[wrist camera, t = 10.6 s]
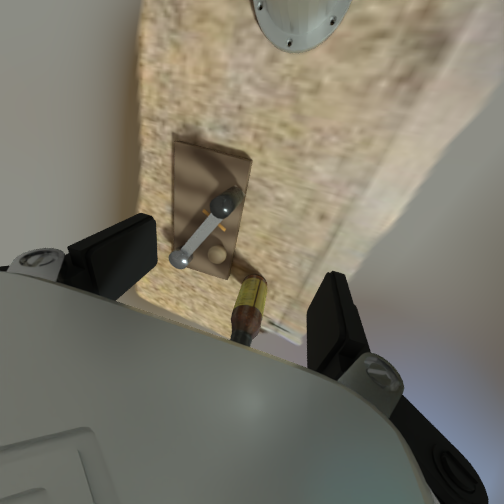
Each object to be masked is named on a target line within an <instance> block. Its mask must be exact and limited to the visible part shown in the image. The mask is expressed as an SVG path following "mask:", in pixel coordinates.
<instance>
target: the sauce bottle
mask: <svg viewBox="0 0 504 504" xmlns="http://www.w3.org/2000/svg"><path fill="white" fill-rule="evenodd" d="M266 295H267V282H266V281H265V280H264V279H263V278H262V277H261V276H259V275H249V276H248V277H246V278H245V279H244V282H243V283H242V286H241V289H240V292H239V295H238V297H237V300H236V303H235V306H234V309H233V312H232V316H231V323H232V335H231V339H230V340H231V341H233V342H236V343H239V344H242V345H245V346H248V347H250V344H251V342H252V339H254V338H255V337H256V336H257V335H258V333H259V330H260V327H261V321H262V317H263V311H264V306H265V300H266Z"/></svg>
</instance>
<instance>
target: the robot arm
mask: <svg viewBox="0 0 504 504" xmlns="http://www.w3.org/2000/svg"><path fill="white" fill-rule="evenodd" d="M351 1H352V0H253V3H254V9H255V13H256V17H257V20H258V22H259V25H260V27H261V29H262V32H263V33H264V35H265V36H266V38H267V39H268V40H269V41H270V42H271V43H272V44H273V45H274V46H275V47H276V48H278V49H280V50H281V51H284V52H288V53H303V52H307V51H309V50H311V49H314V48H316V47H317V46H319V45H320V44H321V43H323V42H324V41H326V39H327V38H328V37H329V36H330V35H331V34H332V33H333V32H334V31H335V30H336V28H337V27H338V25H339V24H340V23H341V21H342V20H343V18H344V16H345V14H346V12H347V10H348V8H349V6H350V3H351ZM260 7H263V9H262V10H259V9H260ZM331 21H333V22H334V25H330V22H331ZM288 43H291V44H292V45H291V46H290V47H289V46H288ZM67 248H68V250H69V253H68V254H66V255H65V254H64V252H63V251H61V250H58V249H54V248H42V249H36V250H32V251H28V252H25V253H23V254H21V255H19V256H18V257H16V258H15V259H14V260H13V262H12V263H11V265H10V266H2V267H0V504H488V496H487V493H486V489H485V487H484V485H483V483H482V481H481V479H480V477H479V475H478V474H477V472H476V471H475V469H474V468H473V467H472V465H471V464H470V463H469V462H468V460H467V459H466V458H465V457H464V456H463V455H462V454H461V453H460V452H459V451H458V450H457V449H456V448H455V447H454V446H453V445H452V444H451V443H450V442H449V441H448V440H447V439H446V438H445V437H444V436H443V435H442V434H441V433H440V432H439V431H438V430H437V429H436V428H435V427H434V426H433V425H432V424H431V423H430V422H429V421H428V420H427V419H426V418H425V417H424V416H423V415H422V414H421V413H420V412H419V411H418V410H417V409H416V408H415V407H414V406H413V405H412V404H411V403H410V402H409V401H408V400H407V399H406V398H405V397H404V396H403V395H402V394H403V391H404V384H403V380H402V378H401V376H400V374H399V373H398V372H397V370H396V369H395V368H394V366H392V364H390V363H389V362H388V361H387V360H385V359H384V358H383V357H381V356H379V355H377V354H374V353H371V352H370V349H369V345H368V342H367V339H366V336H365V333H364V329H363V326H362V323H361V320H360V316H359V314H358V310H357V307H356V306H355V305H354V304H353V300H352V297H351V294H350V290H349V287H348V283H347V280H346V277H345V274H342V273H339V272H335V271H332V272H331V273H329V272H328V273H327V274H326V275H325V277H324V279H323V281H322V283H321V285H320V287H319V289H318V291H317V293H316V295H315V296H314V298H313V300H312V302H311V304H310V306H309V308H308V310H307V368H306V367H303V366H300V365H298V364H295V363H292V362H289V361H287V360H284V359H281V358H279V357H276V356H273V355H270V354H268V353H265V352H262V351H259V350H256V349H253V348H251V347H248V346H245V345H242V344H239V343H236V342H233V341H231V340H228V339H225V338H222V337H219V336H216V335H213V334H211V333H208V332H204V331H202V330H199V329H196V328H193V327H190V326H187V325H184V324H181V323H179V322H176V321H173V320H170V319H167V318H164V317H161V316H158V315H155V314H152V313H149V312H146V311H144V310H140V309H138V308H134V307H132V306H129V305H125V304H123V303H120V302H117V301H116V300H117V299H118V298H119V297H120V296H122V295H123V294H124V293H125V292H126V291H127V290H128V289H130V288H131V287H132V286H133V285H134V284H135V283H136V282H138V281H139V280H140V279H141V278H142V277H143V276H145V275H146V274H147V273H148V272H149V271H150V270H151V269H153V268H154V267H155V266H156V264H157V261H158V258H157V234H156V221H155V220H154V218H153V217H152V216H150V215H147V214H144V213H139V214H137V215H134V216H133V217H130V218H128V219H126V220H124V221H122V222H119V223H117V224H115V225H113V226H111V227H109V228H107V229H105V230H103V231H100V232H98V233H96V234H94V235H91V236H89V237H87V238H86V239H83V240H81V241H79V242H76V243H74V244H72V245H70V246H68V247H67Z"/></svg>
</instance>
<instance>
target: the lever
mask: <svg viewBox="0 0 504 504" xmlns="http://www.w3.org/2000/svg"><path fill="white" fill-rule="evenodd" d="M244 196H245V194H244V193H243V192H242V190H241V189H240V188H238V187H237V186H236V185H235V186H233V187H230V188H229V189H227V190H226V191H224V192H223V193H221V194H220V195H218V196H217V197H215V198H214V199H213V200H212V201H211V202H210V211H211V214H210V215H209V216H208V217H207V219H206V220H205V221H204V222H203V223H202V225H201V226H200V227H199V228H198V229H197V230H196V232H195V233H194V234H193V235H192V236H191V238H190V239H189V240H188V241H187V242H186V244H185V245H184V246H179V247H177V248H176V249H175V250H174V251H173V252H172V253H171V254H170V255H169V261H170V263H171V264H172V266H174V267H175V268H177V269H184V268H186V266H187V265H188V264H189V263H190V262H191V261H192V260H193V252H194V251H195V250H196V249H197V248H198V247H199V246H200V244H201V243H202V242H203V241H204V240H205V239H206V238H207V237H208V236H209V234H210V233H211V232H212V231H213V230H214V229H215V228H216V227H217V226H218V224H219V223H220V222H221V221H222V220H223V219H225V218H227V217H228V216H229V215H230V214H231V213H232V212H233V211H234V210H235V209H236V207H237V206H238V205H239V204H240V203H241V202H242V201H243V198H244Z"/></svg>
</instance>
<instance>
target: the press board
mask: <svg viewBox="0 0 504 504" xmlns="http://www.w3.org/2000/svg"><path fill="white" fill-rule="evenodd" d="M252 161H253V160H249V159H245V158H241V157H238V156H234V155H230V154H227V153H223V152H219V151H215V150H212V149H208V148H204V147H200V146H197V145H193V144H189V143H185V142H182V141H175V164H174V250H175V249H176V248H177V247H179V246H184V245H185V244H186V242H187V241H188V240H189V239H190V238H191V236H192V235H193V234H194V233H195V232H196V230H197V229H198V228H199V227H200V226H201V225H202V223H203V222H204V221H205V220H206V219H207V217H208V216H209V215H210V214H211V211H210V202H211V201H212V200H213V199H214V198H215V197H217V196H218V195H220V194H221V193H223V192H224V191H226V190H227V189H229V188H230V187H233V186H235V185H236V186H237V187H238V188H240V189H241V190H242V192H243V193H244V194H245V196H246V191H247V186H248V181H249V176H250V171H251V166H252ZM245 196H244V198H243V201H242V202H241V203H240V204H239V205H238V206H237V207H236V209H235V210H234V211H233V212H232V213H231V214H230V215H229V216H228V217H227V218H225V219H223V220H222V221H221V222H220V223H219V224H218V226H217V227H216V228H215V229H214V230H213V231H212V232H211V233H210V234H209V236H208V237H207V238H206V239H205V240H204V241H203V242H202V243H201V244H200V246H199V247H198V248H197V249H196V250H195V251H194V252H193V260H192V261H191V262H190V263H189V264H188V265H187V266H186V267H187V268H190V269H194V270H197V271H200V272H203V273H206V274H209V275H212V276H215V277H219V278H222V279H225V280H228V278H229V276H230V272H231V267H232V262H233V257H234V252H235V247H236V242H237V237H238V232H239V227H240V221H241V216H242V211H243V206H244V201H245Z"/></svg>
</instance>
